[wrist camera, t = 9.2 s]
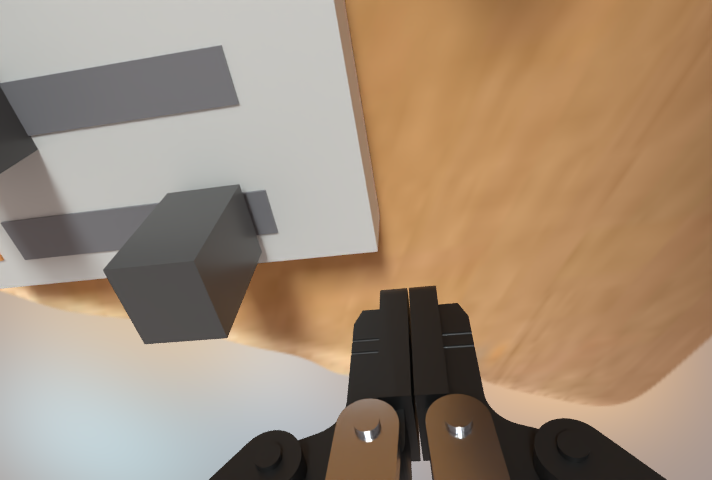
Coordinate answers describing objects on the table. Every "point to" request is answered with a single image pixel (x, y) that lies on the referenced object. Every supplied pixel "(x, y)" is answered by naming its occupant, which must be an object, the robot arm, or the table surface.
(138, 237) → the block
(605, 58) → the table surface
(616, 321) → the table surface
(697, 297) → the table surface
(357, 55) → the table surface
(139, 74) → the breaker panel
